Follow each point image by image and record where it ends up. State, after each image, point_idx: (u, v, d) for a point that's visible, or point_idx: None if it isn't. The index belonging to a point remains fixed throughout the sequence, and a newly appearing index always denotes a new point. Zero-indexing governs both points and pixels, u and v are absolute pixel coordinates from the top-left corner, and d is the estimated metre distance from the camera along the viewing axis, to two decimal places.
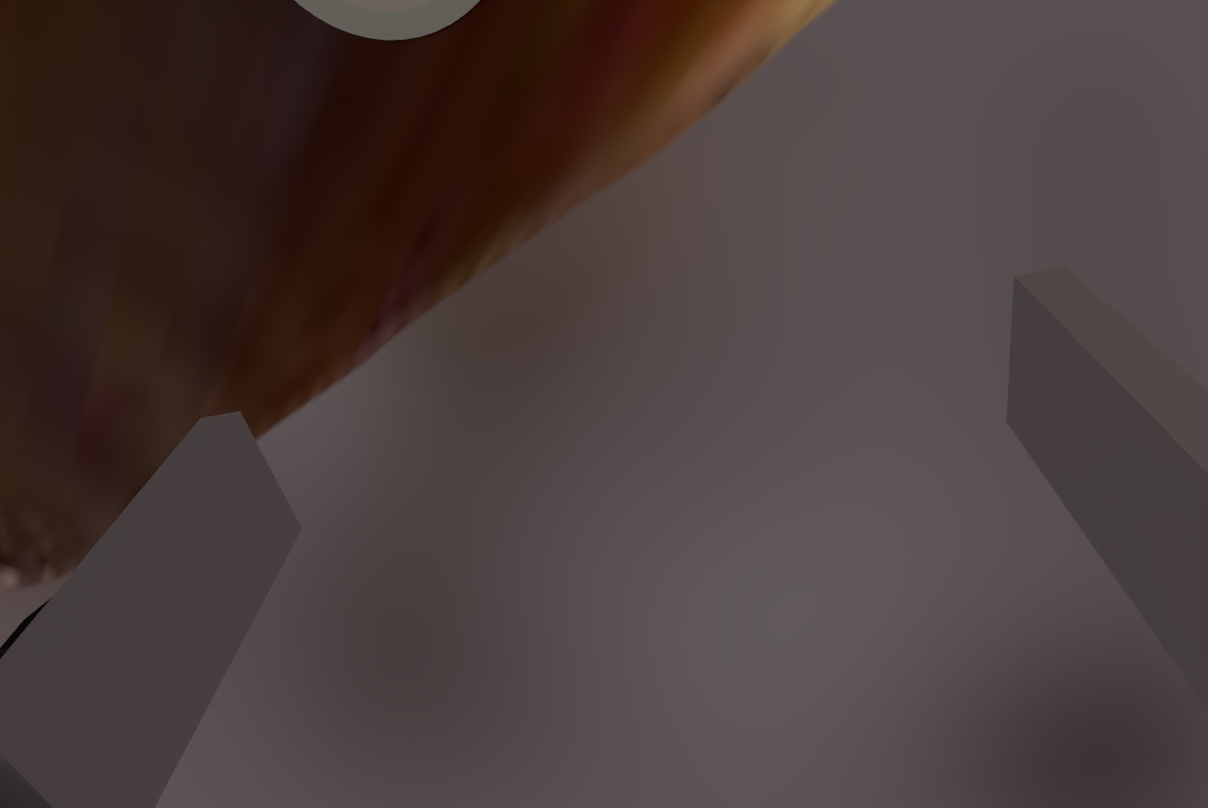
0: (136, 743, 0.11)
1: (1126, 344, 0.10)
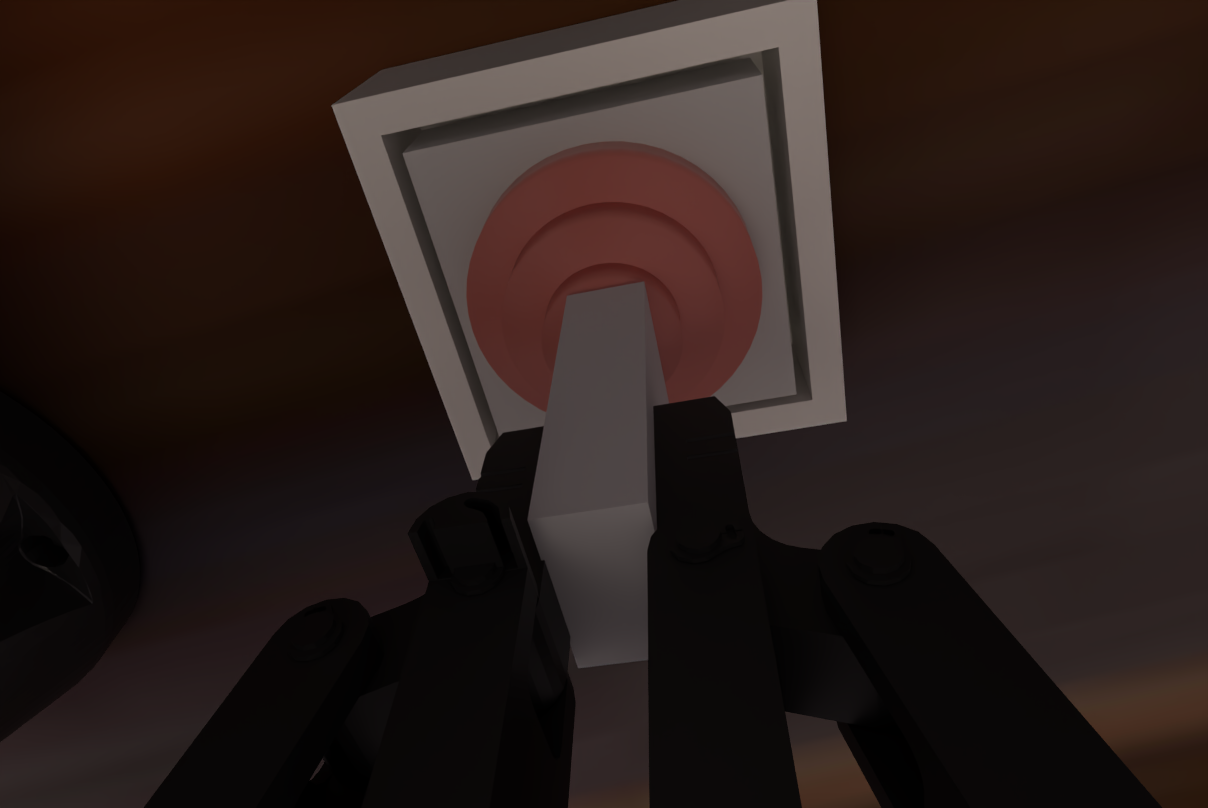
0: None
1: (627, 343, 0.13)
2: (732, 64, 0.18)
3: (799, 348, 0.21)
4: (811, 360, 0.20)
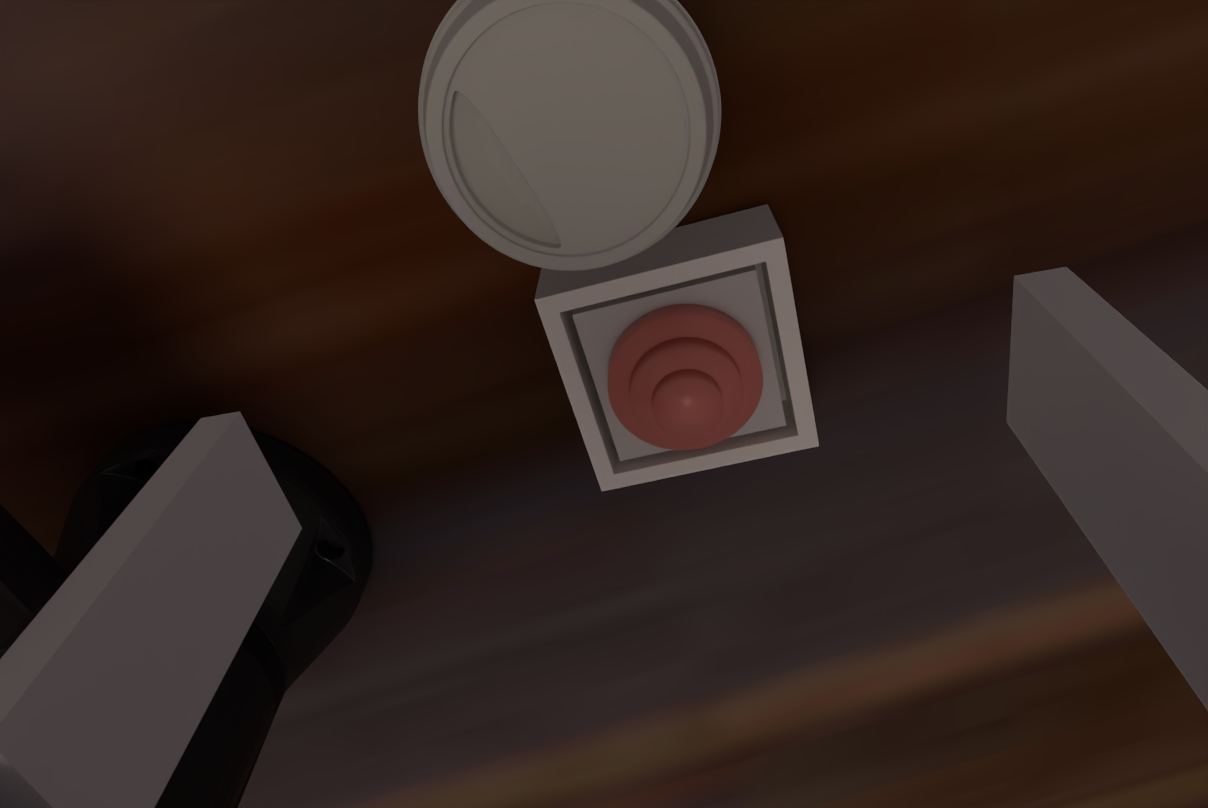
0: (136, 743, 0.11)
1: (1126, 344, 0.10)
2: None
3: (789, 404, 0.37)
4: (795, 414, 0.35)
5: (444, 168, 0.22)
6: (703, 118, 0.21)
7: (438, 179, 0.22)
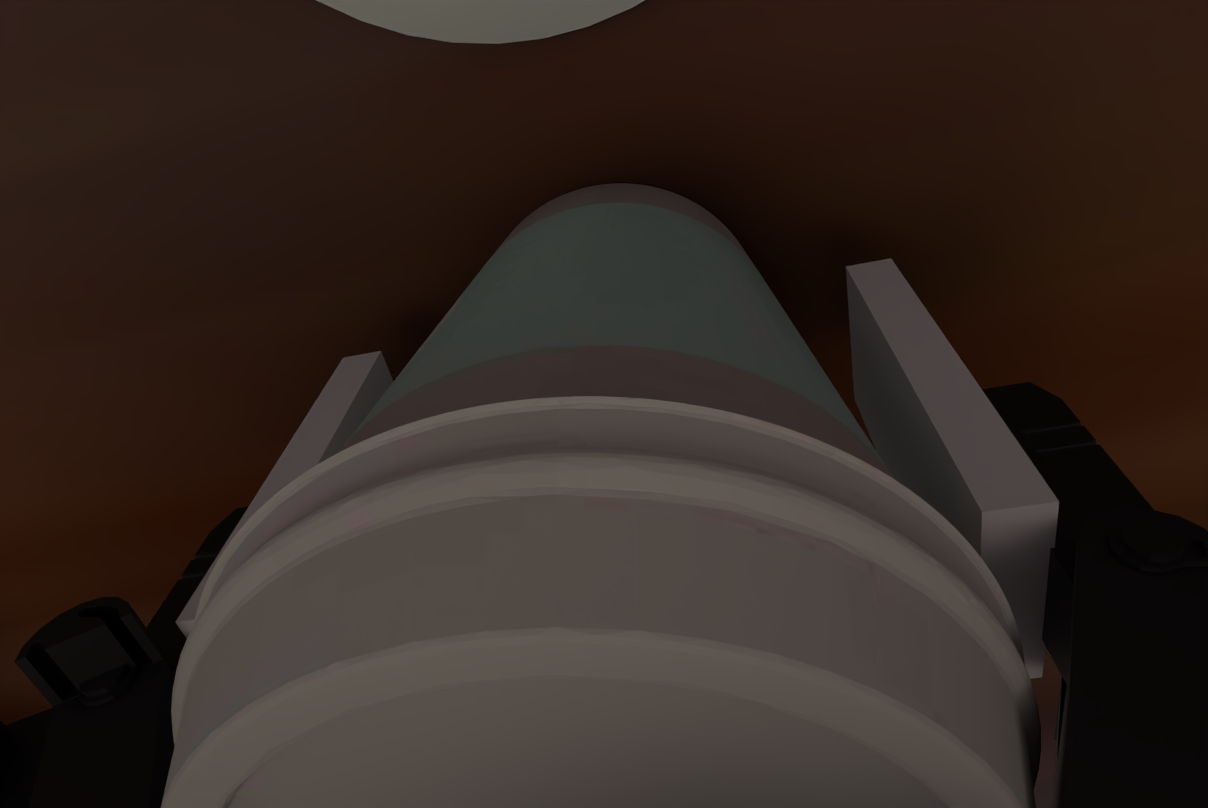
0: None
1: (913, 324, 0.12)
2: None
3: None
4: None
5: None
6: None
7: None
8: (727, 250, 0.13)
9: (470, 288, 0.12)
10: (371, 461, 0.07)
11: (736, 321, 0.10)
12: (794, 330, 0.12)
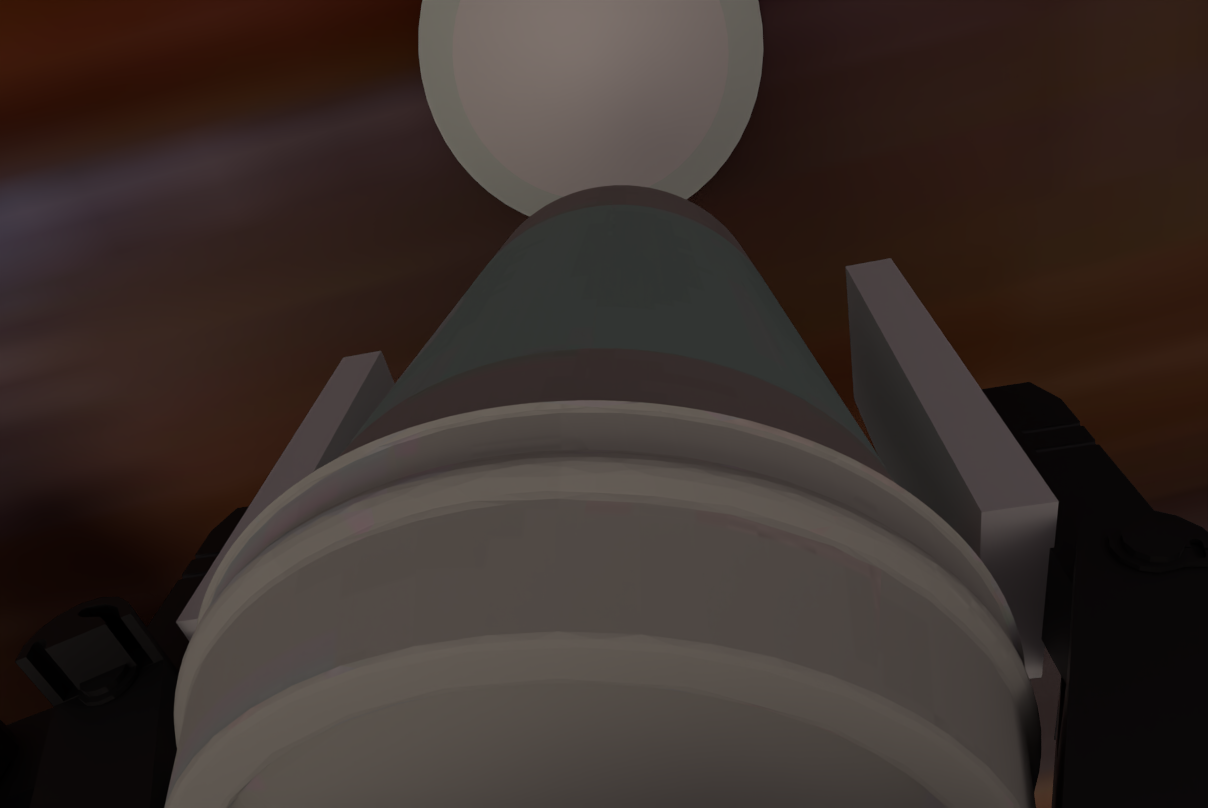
0: None
1: (913, 324, 0.12)
2: None
3: None
4: None
5: None
6: None
7: None
8: (728, 252, 0.13)
9: (471, 290, 0.12)
10: (373, 465, 0.07)
11: (737, 324, 0.10)
12: (795, 332, 0.12)
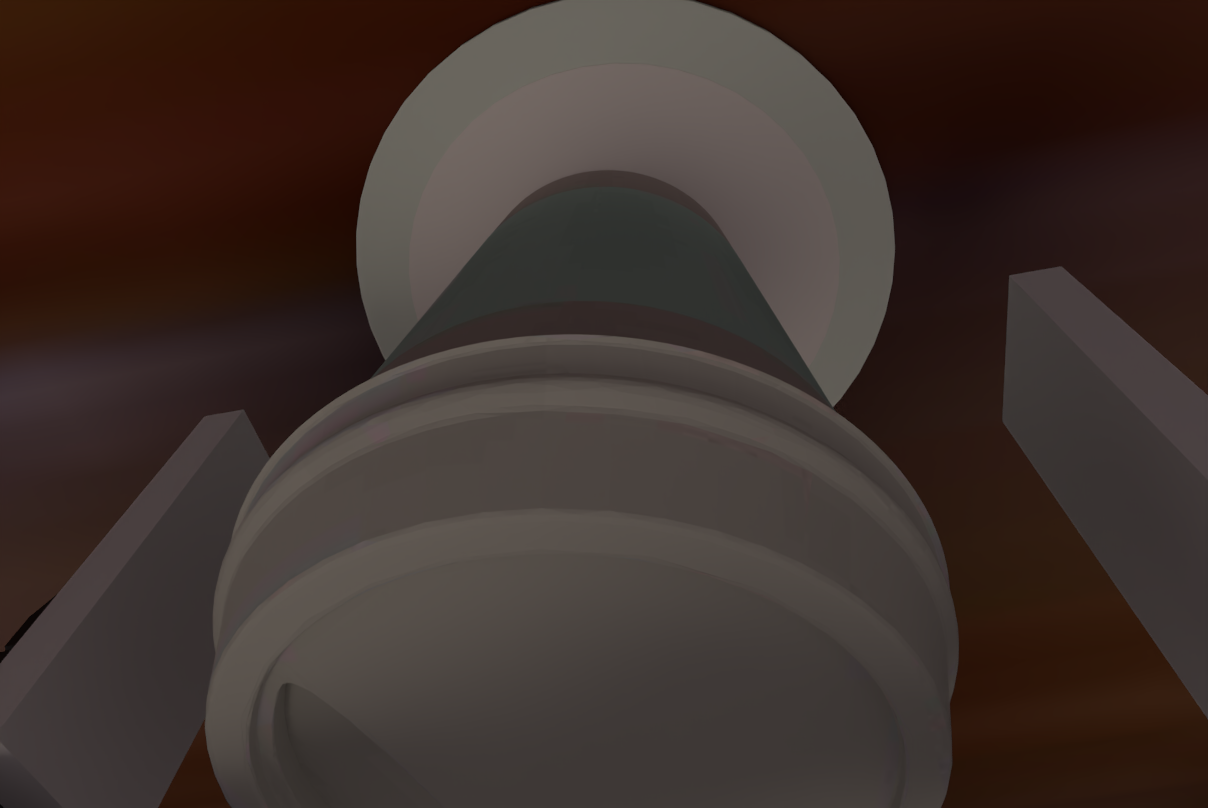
0: (141, 740, 0.11)
1: (1119, 343, 0.10)
2: None
3: None
4: None
5: None
6: (942, 788, 0.08)
7: None
8: (704, 230, 0.14)
9: (469, 262, 0.14)
10: (388, 390, 0.08)
11: (706, 286, 0.11)
12: (762, 299, 0.13)
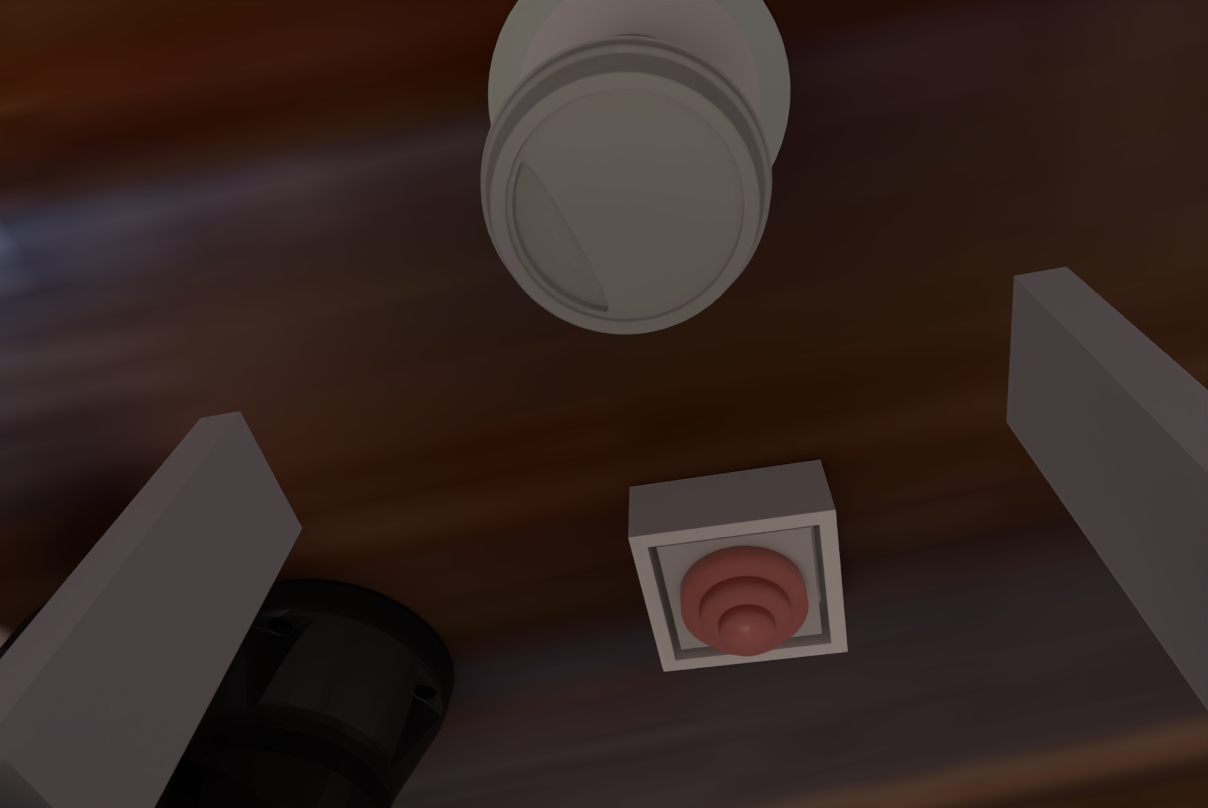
0: (136, 743, 0.11)
1: (1126, 344, 0.10)
2: None
3: (825, 612, 0.44)
4: (831, 628, 0.43)
5: (503, 232, 0.23)
6: (757, 205, 0.22)
7: (497, 241, 0.23)
8: None
9: None
10: (559, 57, 0.22)
11: None
12: None
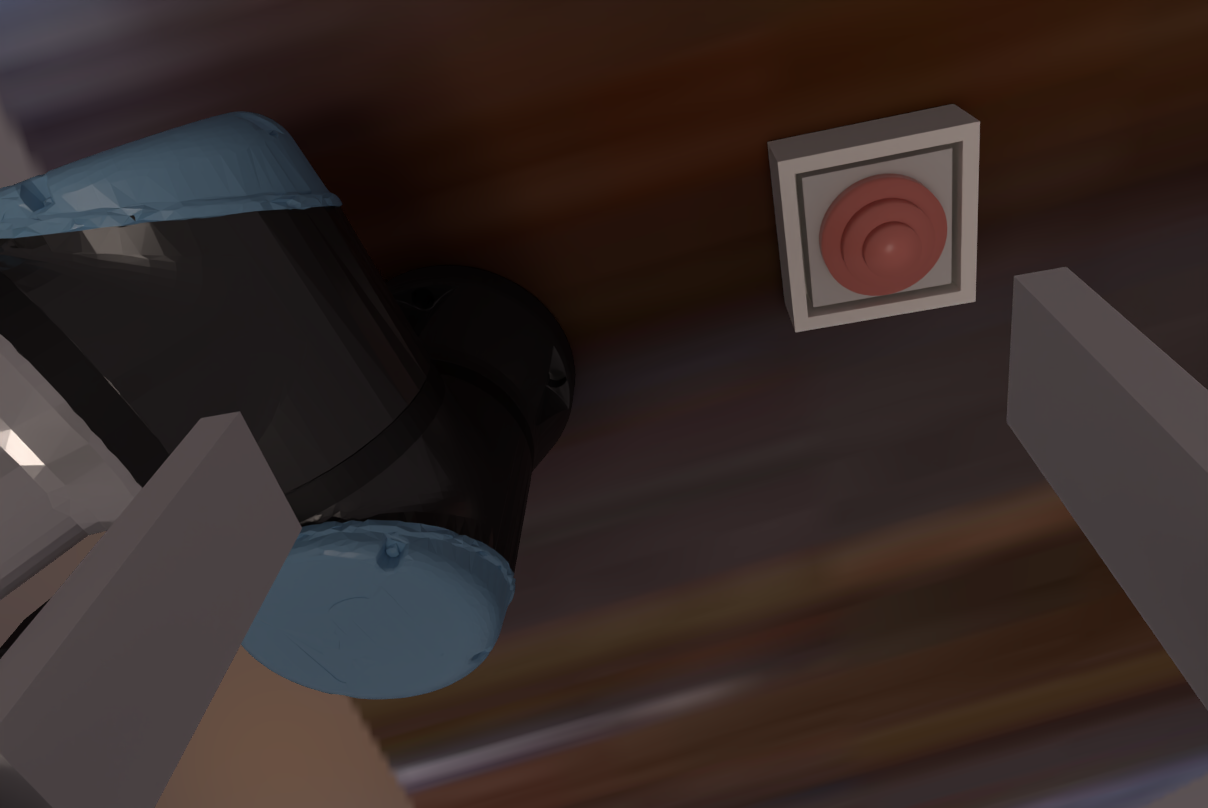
0: (136, 743, 0.11)
1: (1126, 344, 0.10)
2: None
3: (951, 269, 0.46)
4: (962, 272, 0.45)
5: None
6: None
7: None
8: None
9: None
10: None
11: None
12: None
